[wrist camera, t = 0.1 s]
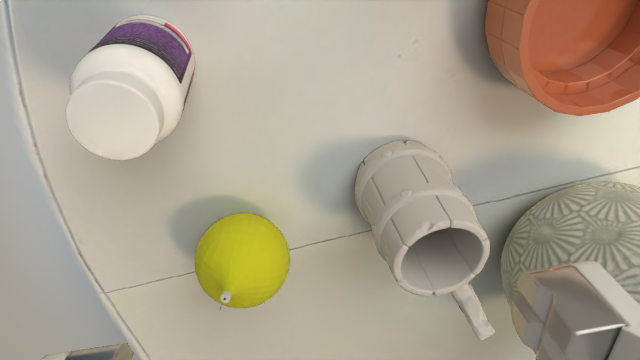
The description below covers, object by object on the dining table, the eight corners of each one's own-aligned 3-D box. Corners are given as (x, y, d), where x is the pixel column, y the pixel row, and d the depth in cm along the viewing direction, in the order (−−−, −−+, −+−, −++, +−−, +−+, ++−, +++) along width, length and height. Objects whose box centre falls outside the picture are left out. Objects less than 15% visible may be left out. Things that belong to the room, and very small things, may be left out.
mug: (419, 117, 33) (495, 213, 23) (471, 216, 39) (549, 326, 29) (333, 168, 34) (369, 280, 24) (397, 256, 40) (446, 374, 30)
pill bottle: (94, 16, 26) (26, 69, 18) (186, 10, 27) (160, 59, 18) (120, 101, 29) (71, 179, 21) (202, 94, 30) (186, 167, 21)
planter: (642, 117, 36) (859, 237, 23) (650, 247, 45) (809, 385, 32) (451, 207, 38) (553, 361, 25) (495, 314, 47) (587, 466, 35)
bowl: (493, -93, 26) (540, -92, 22) (684, -116, 27) (764, -118, 23) (472, 98, 33) (505, 127, 28) (625, 76, 33) (679, 101, 29)
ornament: (213, 185, 34) (202, 279, 25) (298, 207, 36) (314, 301, 27) (189, 252, 37) (172, 355, 28) (268, 269, 39) (274, 369, 31)
